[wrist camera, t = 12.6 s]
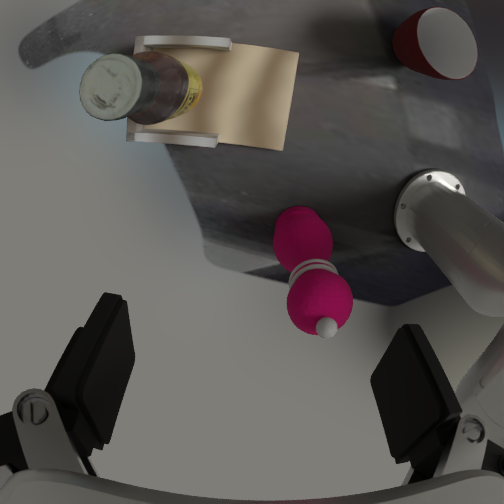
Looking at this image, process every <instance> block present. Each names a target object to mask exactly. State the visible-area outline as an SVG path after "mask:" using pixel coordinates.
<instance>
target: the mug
mask: <svg viewBox="0 0 504 504" xmlns="http://www.w3.org/2000/svg"><path fill="white" fill-rule="evenodd" d="M393 49H394V52H395V54H396V56H397V58H398V59H399V60H400V61H401V62H402V63H403V64H404V65H405V66H406V67H408V68H409V69H411V70H413V71H416V72H419V73H422V74H425V75H428V76H431V77H434V78H438V79H445V80H460V79H464V78H466V77H468V76H469V75H470V74H471V73H472V72H473V71H474V69H475V67H476V64H477V59H478V49H477V44H476V40H475V37H474V35H473V33H472V31H471V29H470V28H469V26H468V25H467V23H466V22H465V21H464V20H463V19H462V18H461V17H460V16H459V15H457V14H456V13H455V12H453V11H451V10H449V9H447V8H443V7H431V8H427V9H424V10H421V11H419V12H416V13H415V14H413V15H412V16H410V17H409V18H408V19H407V20H406V21H404V22H403V23H402V24H401V25H400V26H399V27H398V28H397V29H396V31H395V33H394V35H393Z"/></svg>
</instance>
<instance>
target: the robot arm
mask: <svg viewBox="0 0 504 504" xmlns="http://www.w3.org/2000/svg"><path fill="white" fill-rule="evenodd" d="M401 204H402V205H401ZM394 223H395V228H396V231H397V233H398V235H399V237H400V238H401V240H402V241H403V242H404V243H405V244H406V245H407V246H408V247H410V248H411V249H414V250H416V251H422V252H425V251H426V252H427V254H428V255H429V256H430V257H431V258H432V259H433V261H434V262H435V263H436V264H437V265H438V267H439V268H440V269H441V270H442V272H443V273H444V274H445V275H446V276H447V278H448V279H449V280H450V281H451V283H452V284H453V285H454V287H455V288H456V289H457V290H458V292H459V293H460V294H461V295H462V297H463V298H464V299H465V301H466V302H467V303H468V304H469V306H471V308H473V309H474V310H475V311H476V312H478V313H480V314H482V315H486V316H494V317H500V316H501V317H503V316H504V223H503V222H501V221H500V220H499V219H497V218H496V217H495V216H493V215H492V214H491V213H489V212H488V211H487V210H485V209H484V208H483V207H481V206H480V205H478V204H477V203H475V202H474V201H473V200H471V199H470V198H468V197H467V196H466V195H465V191H464V188H463V186H462V184H461V183H460V182H459V180H458V179H457V178H456V177H455V176H453V175H452V174H450V173H449V172H447V171H444V170H441V169H430V170H426V171H423V172H421V173H419V174H417V175H416V176H414V177H413V178H412V179H411V180H410V181H409V182H407V184H406V185H405V186H404V188H403V189H402V191H401V193H400V194H399V196H398V199H397V202H396V205H395V210H394ZM134 362H135V352H134V346H133V340H132V334H131V327H130V320H129V313H128V305H127V301H125V300H123V299H122V296H121V295H117V294H112V293H106V292H105V293H104V294H103V295H102V296H101V298H100V300H99V302H98V303H97V305H96V306H95V308H94V310H93V312H92V314H91V315H90V317H89V319H88V320H87V322H86V324H85V326H84V327H79V328H78V329H77V330H76V331H75V333H74V334H73V336H72V338H71V340H70V342H69V344H68V345H67V347H66V349H65V351H64V353H63V355H62V356H61V359H60V360H59V362H58V364H57V366H56V368H55V370H54V372H53V374H52V376H51V378H50V380H49V382H48V384H47V386H46V388H45V390H44V391H43V390H41V389H35V388H34V389H28V390H26V391H24V392H22V393H21V394H20V395H18V397H17V398H16V399H15V401H14V404H13V408H12V411H11V412H9V413H6V414H3V415H1V416H0V490H1V491H0V504H504V324H503V325H502V327H501V328H500V330H499V331H498V333H497V334H496V336H495V337H494V339H493V340H492V341H491V343H490V344H489V345H488V347H487V348H486V349H485V351H484V352H483V353H482V354H481V356H480V357H479V358H478V359H477V361H476V362H475V363H474V364H473V366H472V367H471V368H470V369H469V370H468V372H467V373H466V374H465V376H464V377H463V378H462V380H461V381H460V383H459V384H458V386H457V389H456V392H455V393H454V391H453V389H452V387H451V385H450V383H449V380H448V378H447V376H446V374H445V372H444V370H443V368H442V366H441V364H440V362H439V360H438V358H437V356H436V354H435V352H434V351H433V349H432V347H431V345H430V343H429V341H428V339H427V337H426V335H425V334H424V332H423V330H422V328H421V327H420V325H418V324H404V325H403V326H402V327H401V328H399V329H398V330H397V332H396V334H395V336H394V338H393V339H392V342H391V343H390V345H389V346H388V348H387V350H386V352H385V353H384V355H383V357H382V359H381V360H380V362H379V364H378V365H377V367H376V369H375V370H374V372H373V374H372V375H371V380H370V382H371V386H372V390H373V393H374V396H375V399H376V403H377V406H378V410H379V413H380V417H381V420H382V424H383V427H384V431H385V435H386V438H387V442H388V445H389V449H390V453H391V456H392V457H394V458H395V461H396V464H400V463H404V462H408V461H410V463H411V467H410V469H409V471H408V473H407V475H406V477H405V479H404V481H403V483H402V485H401V486H399V487H394V488H390V489H385V490H380V491H374V492H368V493H362V494H355V495H348V496H340V497H332V498H321V499H308V500H285V501H254V500H231V499H218V498H207V497H198V496H190V495H183V494H176V493H170V492H164V491H158V490H153V489H147V488H142V487H137V486H133V485H129V484H124V483H120V482H116V481H112V480H108V479H104V478H100V477H99V475H98V473H97V472H96V469H95V467H94V466H93V464H92V462H91V460H90V458H89V456H91V453H92V450H93V448H96V449H99V450H103V446H104V444H109V442H110V439H111V436H112V433H113V429H114V426H115V422H116V419H117V415H118V412H119V409H120V406H121V403H122V400H123V396H124V393H125V390H126V387H127V384H128V381H129V378H130V375H131V372H132V369H133V366H134Z"/></svg>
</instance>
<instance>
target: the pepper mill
mask: <svg viewBox="0 0 504 504" xmlns="http://www.w3.org/2000/svg"><path fill="white" fill-rule="evenodd" d="M273 248H274V252H275V255H276V257H277V259H278V261H279V262H280V263H281V265H282V266H283V267H284V268H285V269H286V270H288V271H289V272H291V275H290V277H289V288H290V291H289V294H288V297H287V310H288V314H289V316H290V318H291V320H292V322H293V323H294V324H295V325H296V327H297V328H299V329H300V330H302V331H304V332H306V333H308V334H312V335H319V336H320V337H322V338H331V337H332V336H334V334H335V333H336V331H337V330H338V329H339V328H340V327H342V326H343V325H344V324H345V322H346V321H347V320H348V318H349V316H350V313H351V311H352V306H353V297H352V293H351V290H350V287H349V285H348V284H347V282H346V281H345V280H344V279H343V278H342V277H341V276H339V275H338V272H337V270H336V268H335V267H334V265H333V264H331V263H330V262H328V261H329V259H330V256H331V254H332V248H333V239H332V235H331V232H330V229H329V228H328V226H327V225H326V223H325V222H324V221H323V220H321V219H320V218H319V216H318V215H317V213H316V212H314V211H313V210H312V209H310V208H308V207H304V206H295V207H291V208H289V209H287V210H285V211H284V212H283V213H282V214H281V215H280V216H279V217H278V219H277V221H276V224H275V234H274V237H273Z"/></svg>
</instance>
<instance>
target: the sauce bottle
mask: <svg viewBox="0 0 504 504" xmlns="http://www.w3.org/2000/svg"><path fill="white" fill-rule="evenodd" d="M79 94H80V100H81V102H82V105H83V107H84V108H85V110H86V111H87V112H88V113H89V114H90V115H91V116H93V117H95V118H97V119H100V120H104V121H111V120H119V119H123V118H126V117H128V118H129V119H131V120H132V121H134V122H135V123H138V124H141V125H153V124H157V123H160V122H163V121H166V120H169V119H172V118H175V117H177V116H180V115H183V114H185V113H187V112H189V111H190V110H192V109H193V108H194V107H195V106H196V105H197V103H198V101H199V100H200V98H201V94H202V81H201V78H200V76H199V74H198V73H197V71H196V70H195V69H194V68H192V67H191V66H189V65H187V64H185V63H184V62H182V61H180V60H178V59H176V58H174V57H172V56H170V55H166V54H164V53H160V52H156V51H146V52H145V51H144V52H139V53H136V54H134V55H131V56H129V55H125V54H121V53H112V54H107V55H104V56H102V57H100V58H99V59H97V60H96V61H94V62H93V63H92V64H91V65H89V67H88V68H87V69H86V71H85V73H84V74H83V77H82V80H81V84H80V90H79Z"/></svg>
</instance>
